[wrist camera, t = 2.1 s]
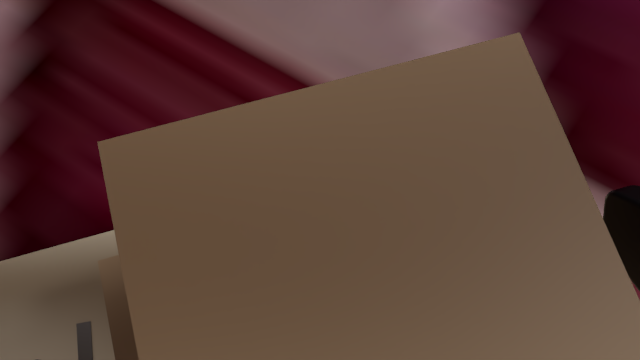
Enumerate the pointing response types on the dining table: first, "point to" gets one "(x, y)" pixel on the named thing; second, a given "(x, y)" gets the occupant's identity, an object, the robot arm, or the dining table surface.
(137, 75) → the dining table surface
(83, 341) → the birch board
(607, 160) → the dining table surface
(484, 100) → the block
